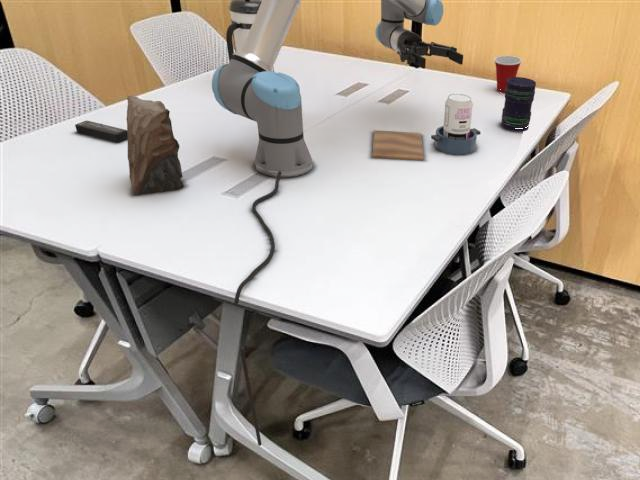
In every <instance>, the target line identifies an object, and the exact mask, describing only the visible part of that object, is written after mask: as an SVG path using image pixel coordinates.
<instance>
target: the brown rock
mask: <svg viewBox="0 0 640 480" xmlns="http://www.w3.org/2000/svg"><path fill="white" fill-rule="evenodd" d="M126 99H127V100H126V101H127V107H126V120H125V121H126V130H127V135H128V139H127V160H128V169H129V176H128V177H129V180H130V184H131V188H132V191H133V196H139V195H146V194H147V195H148V194H154V193H164V192H168V191H178V190H180V189H183V188H184V187H185V185H184V183H183V181H182V178H183V177H184V176H183V172H182V171H183V170H182V165H181V162H180V159H179V150H180V144H179V141H178V139H176V138H175V135H174V131H173V126H172V125H173V124H172V119H171V118H170V113H171V111H170V109H168V108H166V106H165V104H164V103H163V102H162V101H161V100H154V101H153V100H150V99H149V100H148V99H141V98H139V97H138V96H132V95H128V96H127V98H126Z"/></svg>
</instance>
